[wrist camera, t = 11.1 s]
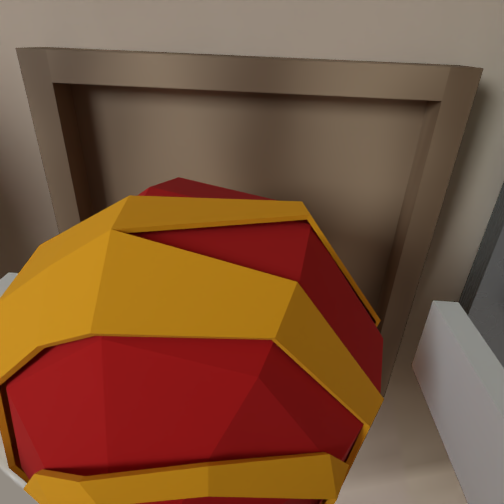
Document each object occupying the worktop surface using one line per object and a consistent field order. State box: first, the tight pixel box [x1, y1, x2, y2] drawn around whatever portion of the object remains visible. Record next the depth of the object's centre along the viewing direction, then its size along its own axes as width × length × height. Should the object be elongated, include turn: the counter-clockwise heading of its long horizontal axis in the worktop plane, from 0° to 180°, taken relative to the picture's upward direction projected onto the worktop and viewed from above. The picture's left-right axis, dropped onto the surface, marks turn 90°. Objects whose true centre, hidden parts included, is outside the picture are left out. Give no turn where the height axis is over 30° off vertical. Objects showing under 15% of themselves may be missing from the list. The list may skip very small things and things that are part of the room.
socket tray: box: [16, 47, 483, 397], centre depth 17 cm, size 15×15×2 cm
